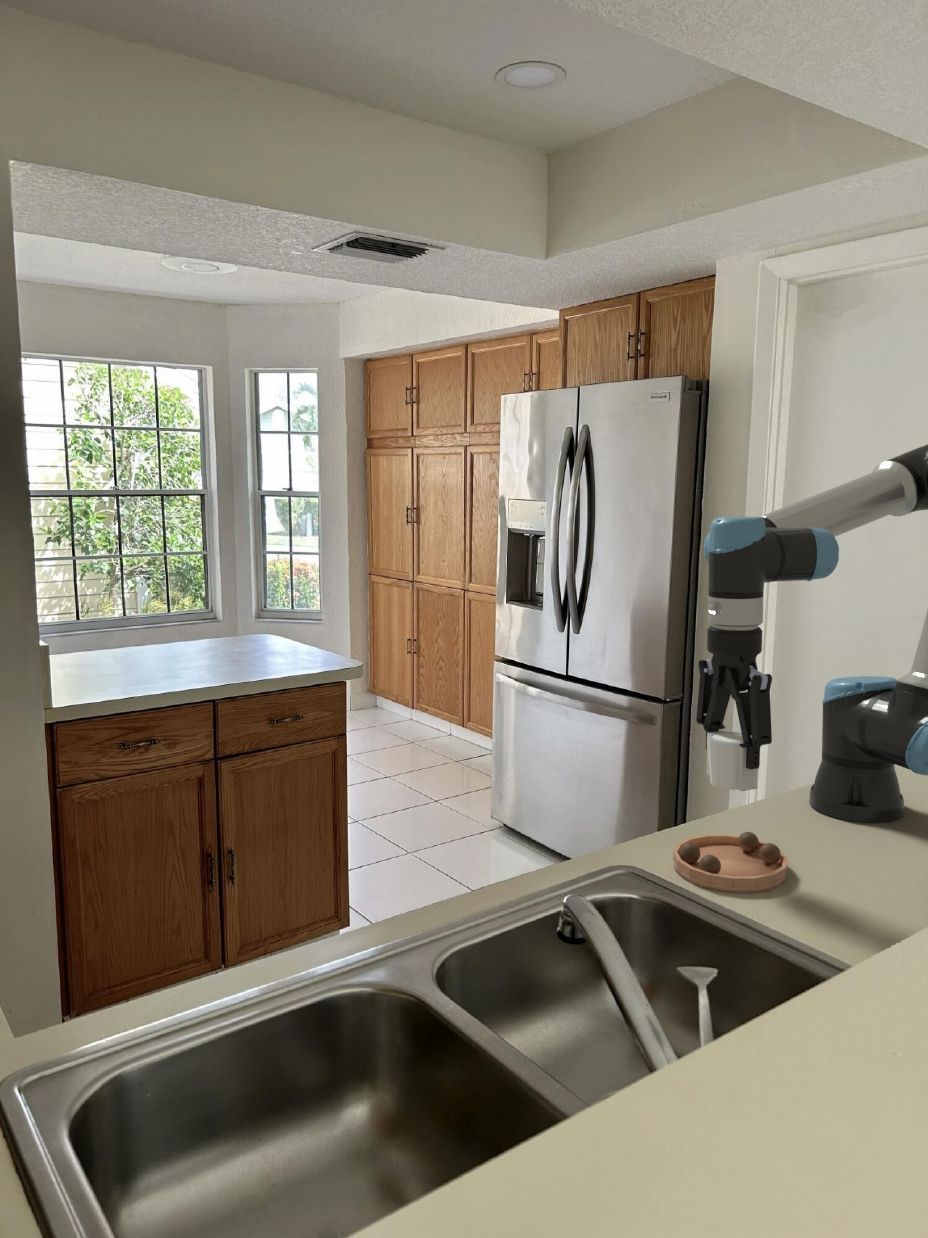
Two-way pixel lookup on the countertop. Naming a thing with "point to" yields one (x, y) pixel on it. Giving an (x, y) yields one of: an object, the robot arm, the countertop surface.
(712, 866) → the bead
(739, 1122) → the countertop surface
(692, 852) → the bead
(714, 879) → the tray
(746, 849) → the bead
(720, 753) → the white cup
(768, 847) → the bead
